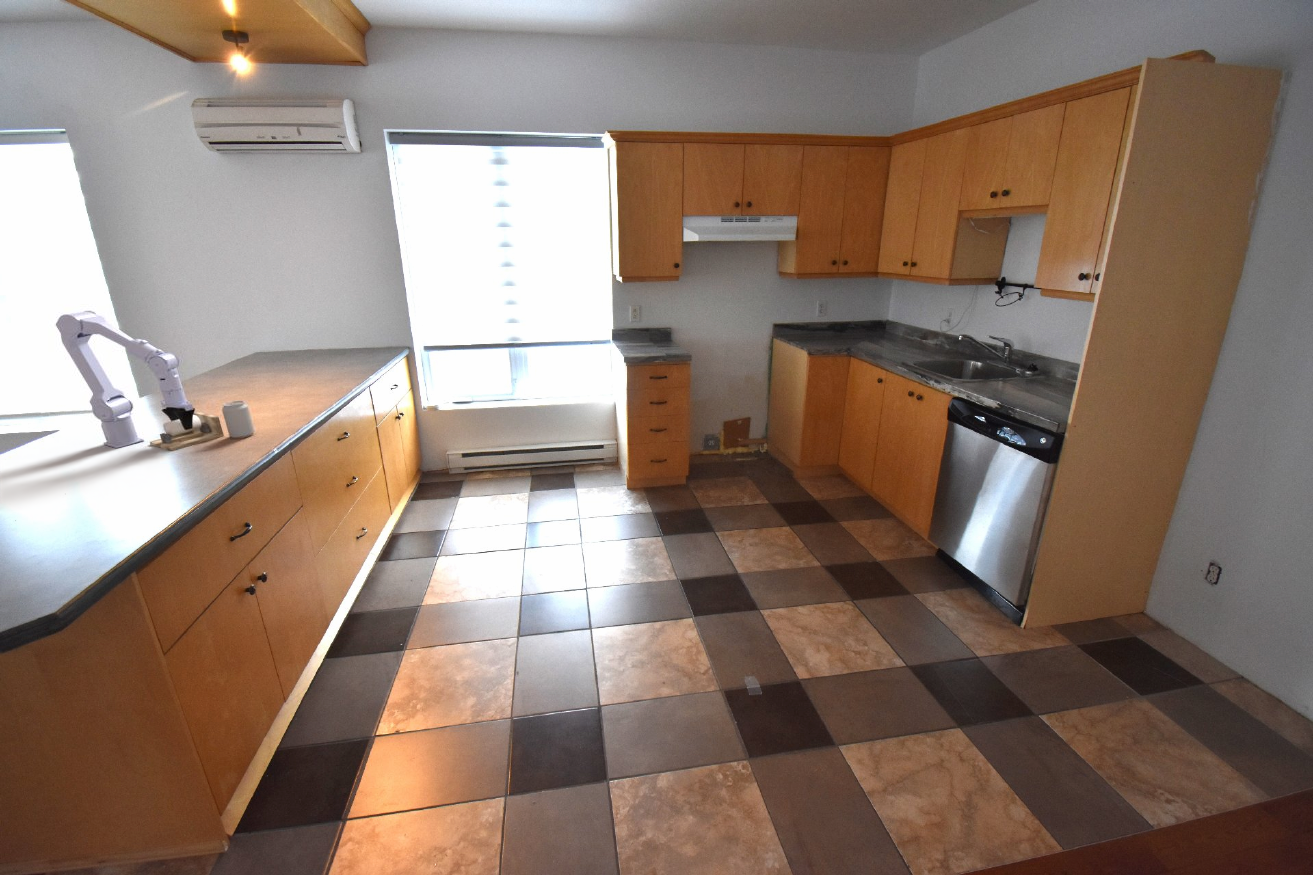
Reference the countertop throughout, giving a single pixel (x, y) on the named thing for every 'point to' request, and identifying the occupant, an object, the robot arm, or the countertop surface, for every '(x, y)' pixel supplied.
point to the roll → (180, 426)
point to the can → (238, 419)
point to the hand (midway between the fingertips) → (184, 428)
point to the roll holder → (192, 434)
